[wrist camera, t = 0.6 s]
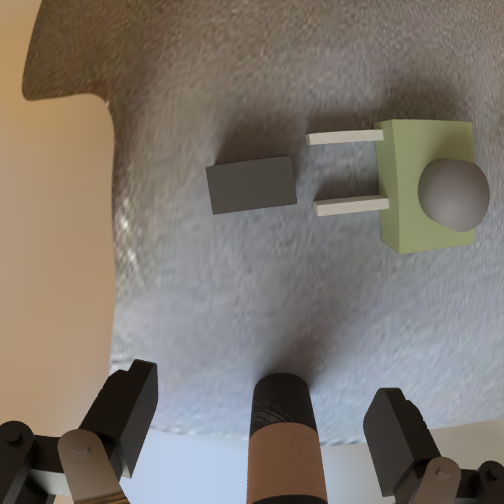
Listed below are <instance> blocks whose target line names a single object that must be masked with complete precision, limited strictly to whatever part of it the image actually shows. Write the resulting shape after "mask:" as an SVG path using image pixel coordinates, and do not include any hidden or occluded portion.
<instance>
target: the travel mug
mask: <svg viewBox="0 0 504 504" xmlns="http://www.w3.org/2000/svg"><path fill="white" fill-rule="evenodd" d="M246 504H328V501H327V493H326V485H325V478H324V470H323V464H322V457H321V449H320V443H319V437H318V432H317V427H316V422H315V417H314V413H313V408H312V403H311V399H310V394H309V390H308V387H307V385H306V383H305V382H304V381H303V380H302V379H301V378H299V377H297V376H295V375H292V374H286V373H279V374H273V375H270V376H267V377H265V378H264V379H262V380H261V381H260V382H259V383H258V384H257V385H256V387H255V389H254V393H253V401H252V413H251V424H250V434H249V449H248V476H247V502H246Z"/></svg>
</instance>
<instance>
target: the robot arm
mask: <svg viewBox="0 0 504 504" xmlns="http://www.w3.org/2000/svg"><path fill="white" fill-rule="evenodd" d="M157 402H158V376H157V364H156V363H153V362H148V361H143V360H139V359H135V360H134V361H133V363H132V365H131V367H130V369H129V370H128V371H124V370H121V369H119V370H118V371H116V372H115V373H113V374H112V375H111V376H109V377H108V379H107V380H106V382H105V384H104V386H103V389H101V390H100V392H99V394H98V397H96V399H95V401H94V402H93V404H92V406H91V408H90V409H89V411H88V413H87V415H86V416H85V418H84V420H83V421H82V423H81V425H80V426H79V428H78V429H75V430H71V431H68V432H67V433H65V434H64V435H62V437H48V436H41V435H34V434H33V432H32V431H31V429H30V428H29V427H28V426H27V425H26V424H24V423H22V422H20V421H9V422H6V423H3V424H2V425H1V426H0V504H53V502H54V499H55V497H56V495H63V496H71V497H72V498H73V501H74V504H130V503H129V501H128V499H127V497H126V496H125V494H124V492H123V490H122V488H121V486H120V484H119V481H120V478H121V476H123V477H127V478H130V479H131V477H132V473H133V471H134V468H135V466H136V463H137V460H138V457H139V454H140V451H141V449H142V446H143V443H144V440H145V438H146V435H147V432H148V429H149V427H150V424H151V421H152V418H153V416H154V413H155V410H156V407H157ZM363 429H364V433H365V437H366V440H367V443H368V446H369V450H370V453H371V456H372V460H373V464H374V467H375V471H376V474H377V478H378V481H379V485H380V488H381V492H382V496H383V497H386V496H393V495H394V496H395V501H394V502H393V503H392V504H504V467H503V466H502V465H501V464H500V463H498V462H495V461H486V462H484V463H483V464H482V465H481V466H480V467H479V468H478V469H477V470H468V469H460V468H459V466H458V464H457V463H456V462H454V461H453V460H451V459H450V458H447V457H442V456H441V454H440V452H439V450H438V448H437V446H436V444H435V442H434V440H433V438H432V436H431V434H430V431H429V429H427V425H426V423H425V421H423V417H422V415H421V413H420V411H419V409H418V408H417V407H416V406H415V405H414V404H413V403H412V402H411V401H410V400H406V399H405V397H404V395H403V393H402V391H401V389H400V388H379V389H378V391H377V392H376V395H375V397H374V399H373V401H372V403H371V405H370V407H369V409H368V411H367V413H366V415H365V417H364V421H363Z"/></svg>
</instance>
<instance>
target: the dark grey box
mask: <svg viewBox="0 0 504 504" xmlns="http://www.w3.org/2000/svg"><path fill="white" fill-rule="evenodd" d="M206 174H207V180H208V187H209V193H210V199H211V205H212V211H213V215H215V214H222V213H229V212H237V211H244V210H252V209H260V208H268V207H276V206H284V205H292V204H297V198H296V189H295V180H294V172H293V164H292V156H290V155H284V156H275V157H267V158H259V159H252V160H244V161H237V162H230V163H224V164H217V165H212V166H209V167H206Z"/></svg>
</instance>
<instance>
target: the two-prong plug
mask: <svg viewBox="0 0 504 504" xmlns="http://www.w3.org/2000/svg"><path fill="white" fill-rule="evenodd" d="M305 139H306V145H316V144H328V143H342V142H358V141H375V149H376V159H377V170H378V183H379V195H370V196H359V197H349V198H339V199H329V200H320V201H313V208H314V212H315V213H316V214H317V216H325V215H334V214H343V213H352V212H362V211H371V210H380V219H381V240H382V241H384V242H385V243H386V244H387V245H388V246H390V247H391V248H392V249H393V250H395V251H396V252H397V253H398V254H406V253H413V252H420V251H427V250H434V249H440V248H447V247H454V246H460V245H467V244H473V243H474V235H475V227H476V226H477V225H478V224H479V223H480V222H481V221H482V220H483V218H484V216H485V214H486V212H487V209H488V205H489V196H490V194H489V185H488V182H487V179H486V177H485V174H484V173H483V171H482V170H481V169H480V168H479V167H478V166H477V165H476V164H475V158H474V144H473V132H472V123H471V122H461V121H443V120H387V121H382V122H378V123H373V130H358V131H339V132H325V133H313V134H307V135H305Z"/></svg>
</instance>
